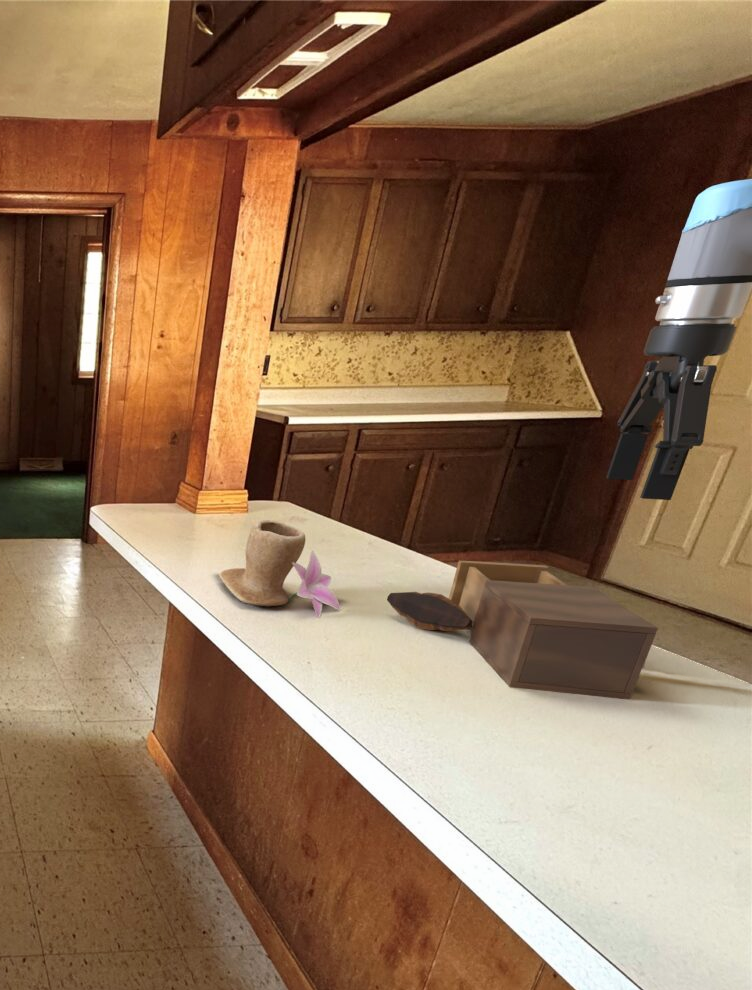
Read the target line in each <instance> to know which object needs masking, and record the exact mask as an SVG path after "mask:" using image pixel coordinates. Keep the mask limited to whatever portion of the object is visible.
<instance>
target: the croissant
mask: <svg viewBox="0 0 752 990" xmlns="http://www.w3.org/2000/svg"><path fill="white" fill-rule="evenodd" d="M386 600H387V602H388V604H389V605H390V606H391V608H393V609H394V611H396V613H397V614H398V615H400V616H401V617H404V618H406V619H407V621H408V622H409V623H411V625H413V626H415V627H416V628H418V629H420V630H430V631H434V630H440V631H442V632H451V631H464V630H469V629H470V628H471V627H473V626H472V623H473V621H472V620H471V618H470V617H469V616H468V615H467V614H466V613H465V612H464V611H463V610H462V608H461V607H460V606H458V605H455V604H453V602H452V601H451V600H450V599H449V597H447V596H445V595H443V594H442V593H437V592H422V593H421V592H418V591H406V592H405V591H404V592H403V591H402V592H390V593H389V594H388V595H387V597H386Z"/></svg>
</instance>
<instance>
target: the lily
mask: <svg viewBox="0 0 752 990" xmlns="http://www.w3.org/2000/svg"><path fill="white" fill-rule="evenodd" d="M292 564H293V568H294V570H295V571H296V573H297V574H298V576H299V577H300V580H301V583H300V584H299V587H298V589H297V591H296V592H295V593H294V594H293V595H292V596H291V597H290V598H288V601H289V602H291V600H292V599H294V597H296V596H298V597H300V598H305V599H310V600H311V603H312V606H313V608H314V612H315V614H316V617H317V618H318V617H319V618H320V616H321V614H322V610H323V604H325V605H327V606H329V607H331V608H334V609H336V610H338V611H341V610H342V608H341V605H340V603H339V600H338V598H337V596H336V594H335V593H334V592H333V591H332V589H331V588H329V587H330V585H331V583H332V576H330V575H329V574H325V573H322V566H321V563H320V560H319V558H318V556H317V554H316V552H315V551H314V550H311V551H310V556H309V561H308V564H307V566H306V567H304V566H303V565H301V564H300V563H298V562H296V563H294V562H292Z"/></svg>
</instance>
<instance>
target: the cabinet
mask: <svg viewBox="0 0 752 990" xmlns="http://www.w3.org/2000/svg"><path fill="white" fill-rule="evenodd" d="M471 627H472V628H471V632H470V634H469V638H468V643H469V644H470V645H471V646H472V647H473V648H474V649H475V651H476V652H477V653H478V654H479V655H480V656H481V657H482V658H483V659H484V661H485V662H486V663H487V664H488V665H489V666H490V667H491V668H492V670H494V672H495V673H496V674H497V675H498V676H499V677H500V678H501V679H502V680H503V682H504V683H505V684H506V685H507V687H509V688H517V689H529V690H538V691H545V692H556V693H557V692H558V693H566V694H574V695H575V694H576V695H584V696H593V697H604V698H613V699H623V700H624V699H625V700H631V698H632V696H633V693H634V691H635V688H636V685H637V684H638V680H639V679H640V675H641V673H642V670H643V668H644V666H645V664H646V663H645V662H646V660H647V657H648V655H649V653H650V650H651V647H652V646H653V643H654V640H655V637H656V636H657V635H656V634H657V632H658V629H659V627H658V626H657V625H654V624H652V623H651V622H649V621H648V620H647V619H645V618H643V617H642V616H640V615H638V614H637V613H635V612H634V611H632V610H631V609H629V608H627V607H626V606H624V605H623V604H621V603H620V602H618V601H616V600H615V599H614V598H612V597H610V596H609V595H607V594H605V593H604V592H602V591H600V589H598V588H596V587H594V586H585V585H570V584H569V585H568V584H566V585H555V584H540V583H524V582H509V581H493V580H486V581H485V585H484V588H483V592H482V595H481V599H480V602H479V606H478V610H477V613H476V617H475V620H474V624H473V626H471Z"/></svg>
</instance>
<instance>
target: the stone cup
mask: <svg viewBox="0 0 752 990" xmlns="http://www.w3.org/2000/svg"><path fill="white" fill-rule="evenodd" d="M305 544H306V533H305V532H303V531H302V530H301V529H299V528H297V527H295V526H293V525H290V524H286V523H285V522H281V521H275V520H270V519H263V520H262V519H261V520H259V521H257V522H255V523H254V524H253V525H252V526H251V527H250V530H249V533H248V536H247V541H246V545H245V568H241V567H240V568H239V567H238V568H228V569H224V570H222V571H220V573H219V576H218V577H219V578H220V580H221V581H222V582H223V584H224V585H225V586H226V588H227V589H228V590H229V592H230V593H231V594H232V595H233V596H234V597H235V598H236V599H237V600H239V601H240V602H242V603H244V604H247V605H250V606H260V607H276V606H281V605H285V604H288V603H287V601H288V600H289V598H288V596H287V593H286V590H285V589H284V582H285V580H286V578H287V577H288V575H289V573H290V572H291V571H292V569H293V568H294V566H293V564H292V562H294V563H298V560H299V559H300V557H301V556H302V553H303V551H304V548H305Z"/></svg>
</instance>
